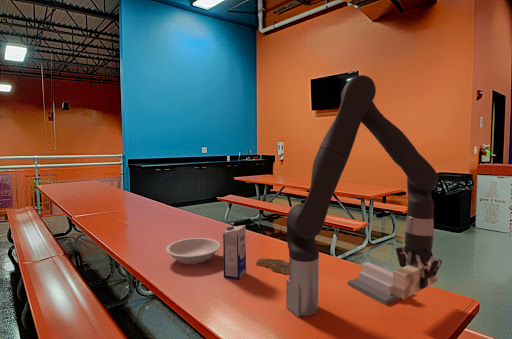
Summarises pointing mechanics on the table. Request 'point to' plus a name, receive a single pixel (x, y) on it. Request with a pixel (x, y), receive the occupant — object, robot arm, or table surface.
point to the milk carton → (234, 252)
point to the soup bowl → (193, 250)
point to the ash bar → (409, 280)
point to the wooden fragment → (274, 265)
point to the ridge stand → (375, 283)
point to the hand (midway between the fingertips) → (415, 284)
